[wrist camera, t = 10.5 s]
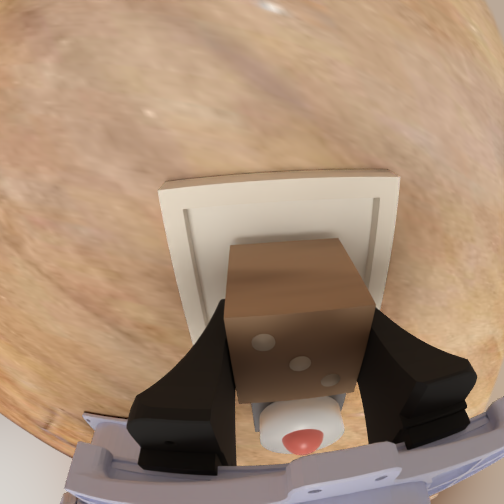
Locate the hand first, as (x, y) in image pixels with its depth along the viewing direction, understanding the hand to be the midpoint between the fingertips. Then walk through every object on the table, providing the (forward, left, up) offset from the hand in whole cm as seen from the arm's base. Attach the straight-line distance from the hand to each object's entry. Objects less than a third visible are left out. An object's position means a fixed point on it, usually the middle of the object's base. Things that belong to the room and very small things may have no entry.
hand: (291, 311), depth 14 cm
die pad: (0, 0, -3) cm, 3 cm away
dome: (-12, -1, -3) cm, 12 cm away
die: (0, 0, -2) cm, 2 cm away
